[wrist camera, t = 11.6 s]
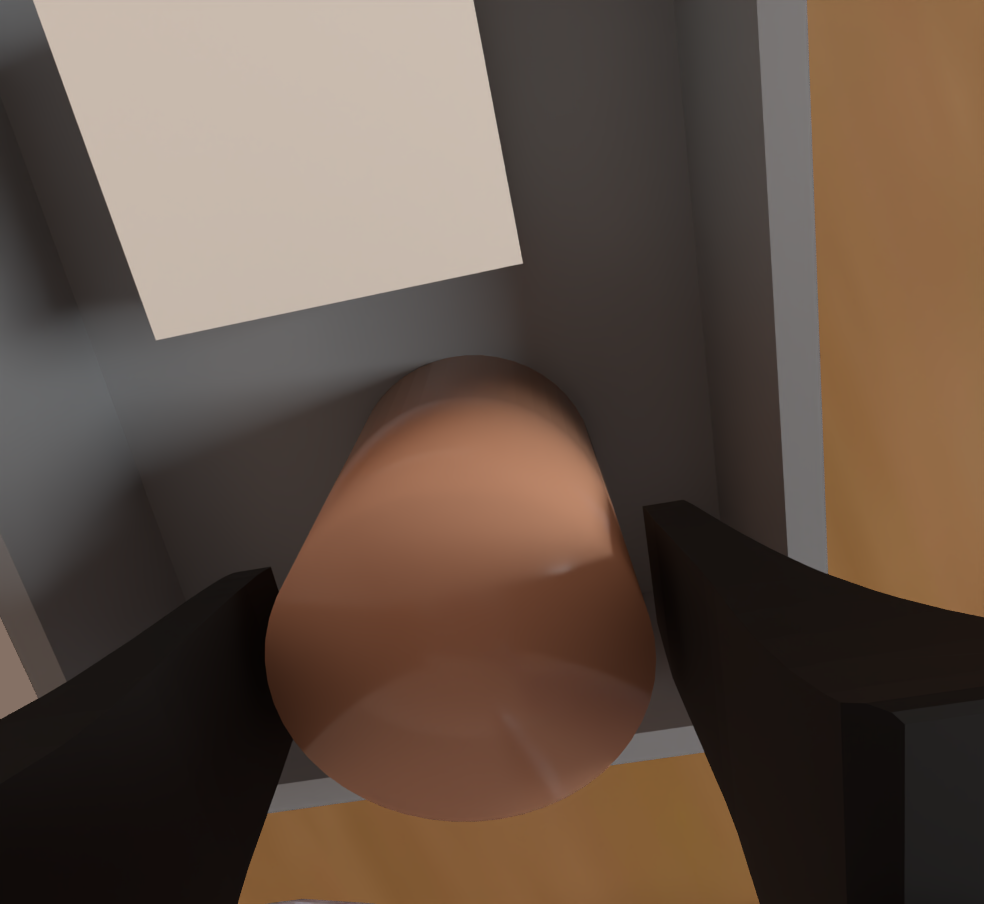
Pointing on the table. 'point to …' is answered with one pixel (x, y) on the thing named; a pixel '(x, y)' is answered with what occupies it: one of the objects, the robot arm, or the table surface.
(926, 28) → the table surface
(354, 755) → the brown egg
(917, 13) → the table surface
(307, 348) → the box
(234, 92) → the cube
